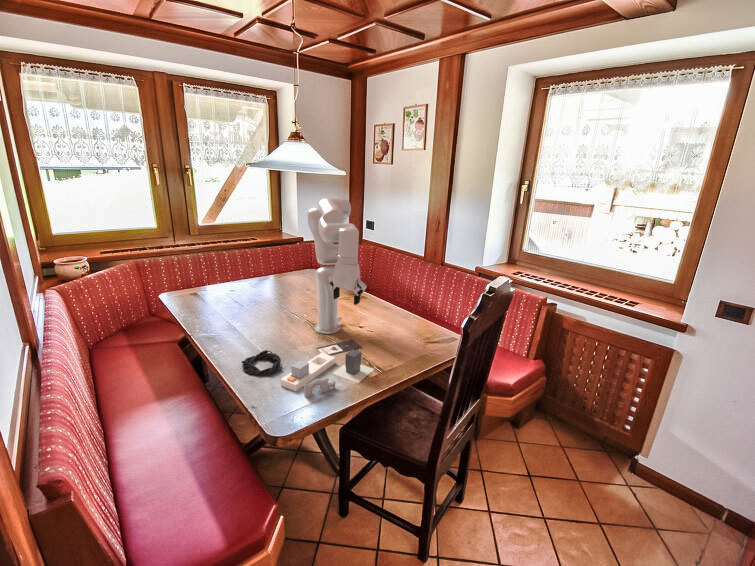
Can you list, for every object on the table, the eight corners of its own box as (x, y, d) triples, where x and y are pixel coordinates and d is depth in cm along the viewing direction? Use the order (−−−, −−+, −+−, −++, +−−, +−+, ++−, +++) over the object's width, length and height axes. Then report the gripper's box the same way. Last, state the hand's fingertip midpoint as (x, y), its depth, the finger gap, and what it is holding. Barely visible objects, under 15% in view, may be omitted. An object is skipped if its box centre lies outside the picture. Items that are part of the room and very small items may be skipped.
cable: (285, 374, 142) (284, 364, 141) (246, 383, 136) (246, 372, 135) (274, 355, 157) (274, 345, 156) (239, 361, 150) (238, 352, 149)
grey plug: (300, 375, 141) (300, 360, 139) (309, 378, 139) (308, 363, 137) (291, 381, 136) (291, 365, 135) (300, 384, 135) (299, 369, 133)
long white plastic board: (321, 360, 154) (321, 351, 153) (335, 365, 151) (335, 355, 150) (280, 387, 134) (280, 377, 133) (295, 393, 131) (295, 383, 130)
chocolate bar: (362, 347, 165) (325, 356, 156) (362, 349, 166) (325, 358, 156) (352, 339, 173) (316, 347, 163) (352, 341, 173) (316, 349, 163)
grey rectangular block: (352, 367, 148) (352, 349, 146) (360, 370, 147) (361, 351, 144) (345, 372, 144) (345, 354, 142) (354, 375, 142) (354, 357, 140)
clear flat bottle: (334, 387, 135) (334, 372, 133) (336, 389, 134) (336, 375, 132) (303, 397, 129) (302, 382, 127) (305, 399, 127) (304, 384, 125)
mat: (349, 361, 154) (349, 360, 153) (374, 369, 148) (374, 369, 148) (332, 374, 143) (332, 373, 143) (358, 383, 138) (358, 382, 138)
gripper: (323, 257, 144) (323, 298, 149) (361, 266, 136) (359, 309, 142) (335, 253, 150) (334, 293, 156) (372, 261, 142) (369, 303, 148)
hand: (346, 300), depth 149 cm, fingers open, 9 cm apart
